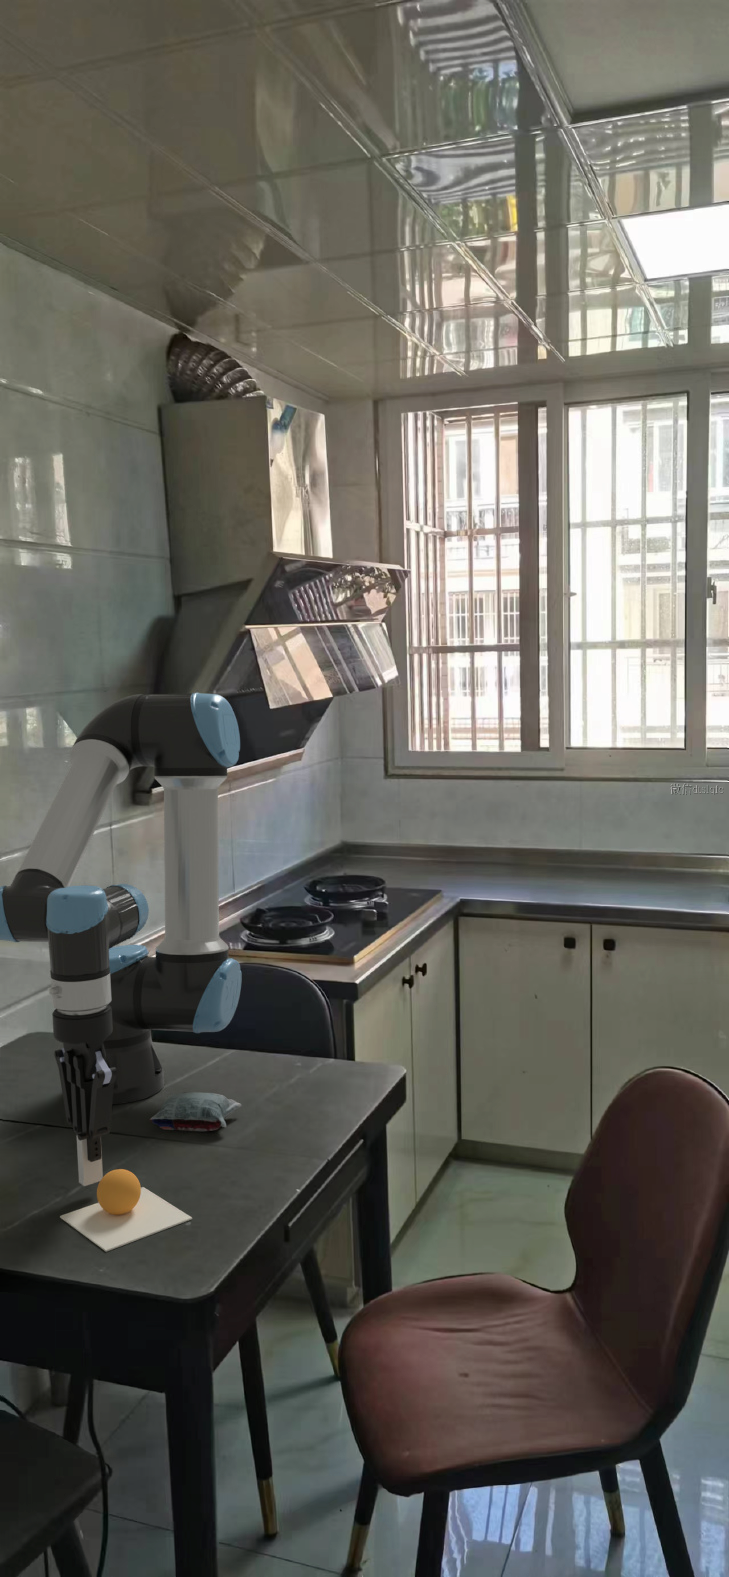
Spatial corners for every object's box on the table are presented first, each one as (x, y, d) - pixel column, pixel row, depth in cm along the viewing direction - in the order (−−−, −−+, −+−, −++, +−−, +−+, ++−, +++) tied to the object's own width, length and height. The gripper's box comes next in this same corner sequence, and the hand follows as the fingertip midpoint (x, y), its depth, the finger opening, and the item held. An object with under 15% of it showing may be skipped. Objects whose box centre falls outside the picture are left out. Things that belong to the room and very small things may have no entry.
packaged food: (169, 1112, 184) (167, 1082, 184) (242, 1116, 182) (241, 1085, 182) (149, 1135, 176) (147, 1104, 175) (225, 1140, 174) (224, 1107, 173)
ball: (114, 1184, 146) (111, 1226, 147) (150, 1173, 150) (147, 1214, 151) (89, 1168, 150) (86, 1209, 151) (126, 1158, 154) (123, 1198, 155)
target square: (59, 1217, 150) (59, 1215, 150) (143, 1188, 157) (143, 1187, 157) (106, 1251, 141) (105, 1250, 141) (192, 1219, 148) (192, 1217, 148)
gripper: (32, 1002, 156) (42, 1174, 158) (79, 1023, 146) (88, 1206, 148) (84, 991, 160) (93, 1158, 163) (132, 1011, 151) (141, 1188, 153)
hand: (91, 1181), depth 156 cm, fingers closed
